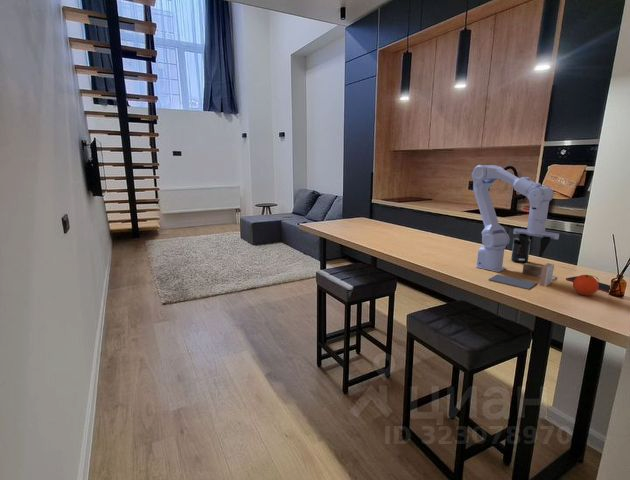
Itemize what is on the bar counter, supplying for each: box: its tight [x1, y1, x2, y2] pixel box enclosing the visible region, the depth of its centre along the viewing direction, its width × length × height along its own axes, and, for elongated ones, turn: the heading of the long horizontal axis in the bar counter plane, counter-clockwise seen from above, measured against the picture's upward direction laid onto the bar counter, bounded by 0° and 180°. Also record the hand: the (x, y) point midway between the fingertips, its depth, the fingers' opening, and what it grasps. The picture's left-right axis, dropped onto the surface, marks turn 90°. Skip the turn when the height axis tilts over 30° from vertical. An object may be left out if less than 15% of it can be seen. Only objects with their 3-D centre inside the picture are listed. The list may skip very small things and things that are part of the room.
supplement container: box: [510, 237, 532, 264], centre depth 159 cm, size 7×7×10 cm
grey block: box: [522, 262, 557, 282], centre depth 139 cm, size 11×4×4 cm, turn 43°
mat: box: [487, 274, 538, 291], centre depth 133 cm, size 14×9×1 cm, turn 43°
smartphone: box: [565, 275, 611, 293], centre depth 130 cm, size 7×1×15 cm
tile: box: [539, 262, 555, 287], centre depth 130 cm, size 2×7×7 cm, turn 133°
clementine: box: [572, 274, 600, 296], centre depth 119 cm, size 8×7×7 cm
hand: (532, 254), depth 133 cm, fingers open, 5 cm apart
